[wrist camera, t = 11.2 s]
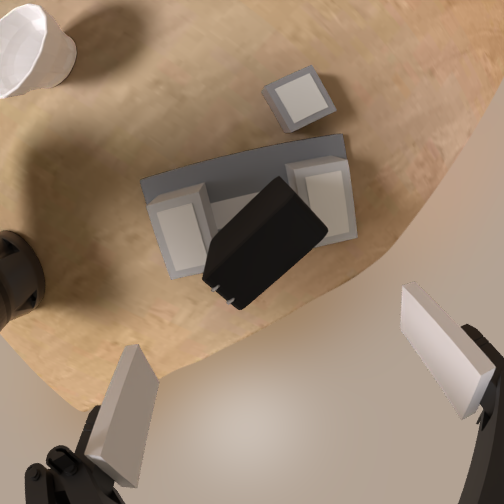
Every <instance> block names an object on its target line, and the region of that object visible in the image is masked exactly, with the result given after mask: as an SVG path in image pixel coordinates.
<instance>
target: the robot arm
mask: <svg viewBox="0 0 504 504" xmlns="http://www.w3.org/2000/svg"><path fill="white" fill-rule="evenodd" d="M44 292H45V280H44V274H43V271H42V267H41V265H40V262H39V260H38V258H37V256H36V254H35V253H34V251H33V250H32V248H31V247H30V246H29V245H28V243H27V242H26V241H25V240H24V239H22V238H21V237H20V236H18V235H17V234H15V233H13V232H10V231H1V232H0V331H1V330H2V329H3V328H4V327H5V325H6V324H7V323H8V322H9V321H11V320H13V319H16V318H18V317H20V316H23V315H25V314H28V313H30V312H31V311H33V310H34V309H35V308H36V307H37V306H38V305H39V303H40V302H41V301H42V299H43V296H44ZM401 303H402V304H401V320H400V330H401V331H402V333H403V334H404V335H405V337H406V338H407V339H408V341H409V342H410V344H411V345H412V347H413V348H414V349H415V351H416V352H417V354H418V355H419V357H420V358H421V359H422V361H423V362H424V364H425V365H426V367H427V368H428V370H429V371H430V372H431V374H432V376H433V377H434V379H435V380H436V382H437V383H438V384H439V386H440V387H441V389H442V391H443V392H444V394H445V395H446V397H447V398H448V400H449V401H450V403H451V405H452V406H453V408H454V409H455V411H456V412H457V414H458V416H459V417H460V419H461V420H463V419H465V418H467V417H468V416H470V415H472V414H474V413H475V412H476V410H477V408H478V406H479V404H480V405H481V406H482V407H483V411H482V413H481V415H480V417H479V418H478V421H477V423H476V424H479V422H480V426H479V431H478V436H477V441H476V445H475V449H474V453H473V457H472V461H471V465H470V468H469V472H468V475H467V479H466V482H465V485H464V488H463V491H462V494H461V497H460V500H459V503H458V504H504V358H503V356H502V355H501V354H500V353H499V352H498V351H497V350H496V349H495V348H494V347H493V345H492V344H491V343H489V341H488V340H487V339H486V338H485V337H483V335H482V334H481V333H480V332H479V331H478V330H477V329H476V328H474V327H472V326H470V325H468V324H466V325H463V326H461V327H460V326H459V325H458V324H457V323H456V322H455V321H454V320H453V319H452V318H451V317H450V316H449V315H448V314H447V313H446V312H445V310H443V308H442V307H440V305H439V304H438V303H436V301H435V300H434V299H433V298H432V297H431V296H429V294H428V293H427V292H426V291H425V290H424V289H423V288H422V287H420V286H419V285H418V284H417V283H416V282H415V281H414V282H411V283H408V284H404V285H402V302H401ZM158 386H159V380H158V379H157V377H156V375H155V373H154V372H153V370H152V368H151V366H150V365H149V363H148V361H147V359H146V357H145V356H144V354H143V352H142V350H141V348H140V346H139V344H135V345H128V346H125V348H124V350H123V353H122V355H121V357H120V360H119V362H118V365H117V367H116V369H115V372H114V374H113V377H112V379H111V382H110V384H109V387H108V389H107V392H106V395H105V397H104V400H103V402H102V405H96V406H95V407H94V408H93V410H92V411H91V412H90V413H89V415H88V418H87V420H86V424H85V426H84V429H83V431H82V434H81V436H80V440H79V442H78V445H77V447H76V450H75V453H73V452H72V451H71V450H70V449H69V448H68V447H66V446H63V445H59V446H56V447H54V448H53V449H52V450H50V452H49V453H48V455H47V458H46V464H47V465H48V466H49V467H50V468H51V469H46V468H45V467H44V466H43V465H42V464H39V463H35V464H32V465H30V467H28V468H27V470H26V472H25V497H26V504H125V503H124V501H123V500H122V498H121V496H120V495H119V493H118V491H117V490H116V489H115V488H114V487H113V486H114V481H115V482H117V483H118V484H119V485H120V486H122V487H130V488H137V487H138V481H139V476H140V470H141V465H142V460H143V454H144V450H145V445H146V440H147V435H148V430H149V426H150V421H151V416H152V412H153V408H154V403H155V399H156V395H157V391H158Z"/></svg>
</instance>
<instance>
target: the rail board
mask: <svg viewBox="0 0 504 504" xmlns="http://www.w3.org/2000/svg"><path fill="white" fill-rule="evenodd" d="M278 176H280V177H281V178H282V179H283V180H284V181H285V182H286V183H287V184H288V185H289V186H290V187H291V188H292V189H293V190H294V191H295V193H296V194H297V195H298V196H299V197H300V198H301V199H302V200H303V201H304V202H305V203H306V204H307V205H308V207H309V208H310V209H311V210H312V211H313V212H314V213H315V214H316V215H317V216H318V218H319V219H320V220H321V221H322V222H323V223H324V224H325V225H326V226H327V228H328V233H327V235H326V236H325V237H324V238H323V240H322V241H321V242H319V243H318V244H317V245H316V246H315V247H320V246H324V245H328V244H333V243H337V242H341V241H346V240H350V239H354V238H358V236H357V226H356V217H355V208H354V200H353V192H352V185H351V178H350V171H349V165H348V160H347V156H346V150H345V145H344V139H343V134H333V135H326V136H320V137H314V138H308V139H302V140H297V141H291V142H286V143H281V144H276V145H271V146H266V147H261V148H257V149H252V150H248V151H243V152H239V153H235V154H230V155H226V156H222V157H218V158H214V159H210V160H206V161H202V162H199V163H195V164H191V165H188V166H184V167H180V168H177V169H173V170H170V171H166V172H163V173H160V174H156V175H153V176H150V177H147V178H144V179H141V180H140V184H141V187H142V191H143V194H144V197H145V201H146V204H147V206H146V208H147V211H148V214H149V218H150V221H151V224H152V227H153V230H154V233H155V236H156V239H157V242H158V245H159V248H160V251H161V253H162V256H163V259H164V262H165V265H166V268H167V270H168V273H169V276H170V279H171V280H172V279H177V278H181V277H186V276H190V275H195V274H200V273H203V272H204V267H205V263H206V258H207V254H208V250H209V245H210V242H211V240H212V239H213V237H214V236H215V235H216V234H217V233H218V232H219V231H220V230H221V229H222V228H223V227H224V226H225V225H226V224H227V223H228V222H229V221H230V220H231V219H232V218H233V217H234V216H235V215H236V214H237V213H238V212H239V211H240V210H242V209H243V208H244V207H245V206H246V205H247V204H248V203H249V202H250V201H251V200H252V199H253V198H254V197H255V196H256V195H257V194H258V193H259V192H260V191H261V190H262V189H263V188H264V187H266V186H267V185H268V184H269V183H270V182H271V181H272V180H273V179H275V178H276V177H278ZM315 247H314V248H315Z"/></svg>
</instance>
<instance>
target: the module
mask: <svg viewBox="0 0 504 504" xmlns="http://www.w3.org/2000/svg"><path fill="white" fill-rule="evenodd" d="M261 93H262V94H263V96H264V98H265V100H266V101H267V103H268V105H269V106H270V108H271V110H272V112H273V113H274V115H275V117H276V118H277V120H278V122H279V124H280V126H281V127H282V129H283V131H284V133H292V132H294V131H296V130H298V129H300V128H302V127H304V126H306V125H308V124H310V123H312V122H314V121H316V120H318V119H320V118H322V117H324V116H326V115H328V114H331V113H333V112H335V111H337V110H336V108H335V106H334V104H333V102H332V100H331V98H330V96H329V94H328V93H327V91H326V89H325V87H324V85H323V84H322V82H321V80H320V78H319V76H318V75H317V73H316V71H315V70H314V68H313V66H312V65H310V66H308V67H306V68H303V69H301V70H299V71H296V72H294V73H292V74H290V75H288V76H285V77H283V78H281V79H279V80H277V81H275V82H273V83H270V84H268V85H266V86H265V87H264V88H263V90H262V92H261Z"/></svg>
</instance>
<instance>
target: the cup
mask: <svg viewBox="0 0 504 504" xmlns="http://www.w3.org/2000/svg"><path fill="white" fill-rule="evenodd" d="M76 55H77V50H76V45H75V43H74V41H73V40H72V38H71V37H69V36H67V35H66V34H65V33H64V32H63V31H62V30H61V29H60V26H59V25H58V23H57V22H56V20H55V19H54V17H53V16H52V15H50V14H49V13H48V12H47V11H46V10H45V9H44V8H42V7H41V6H39V5H35V4H30V3H29V4H25V5H22V6H19V7H16V8H14V9H13V10H12V11H10V12H9V13H8V14H6V15H5V16H4V17H3V18H1V20H0V99H1V98H7V97H12V96H18V95H24V94H26V93H27V92H29V91H30V90H35V89H41V88H52V87H54V86H56V85H58V84H59V83H61V82H62V81H63V80H64V79H65V78H66V77H67V76H68V75H69V73H70V71H71V69H72V67H73V65H74V63H75V59H76Z"/></svg>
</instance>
